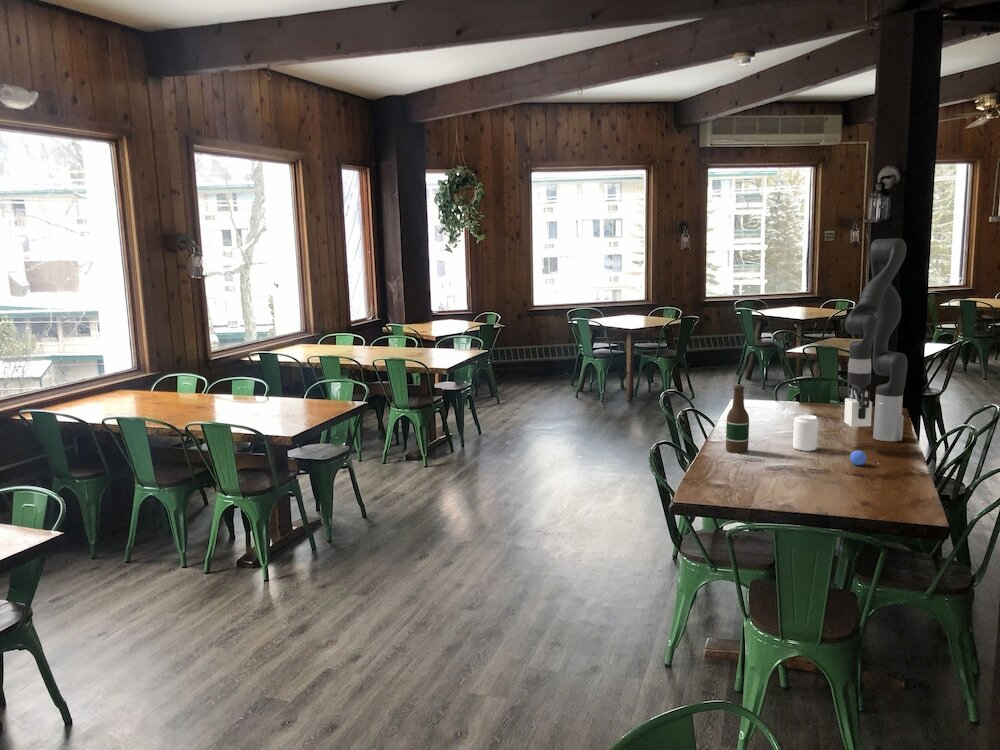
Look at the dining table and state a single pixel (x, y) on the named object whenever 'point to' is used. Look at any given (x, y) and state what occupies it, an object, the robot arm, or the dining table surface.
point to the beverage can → (805, 432)
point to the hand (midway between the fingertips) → (857, 416)
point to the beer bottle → (737, 424)
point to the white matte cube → (856, 413)
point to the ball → (858, 457)
